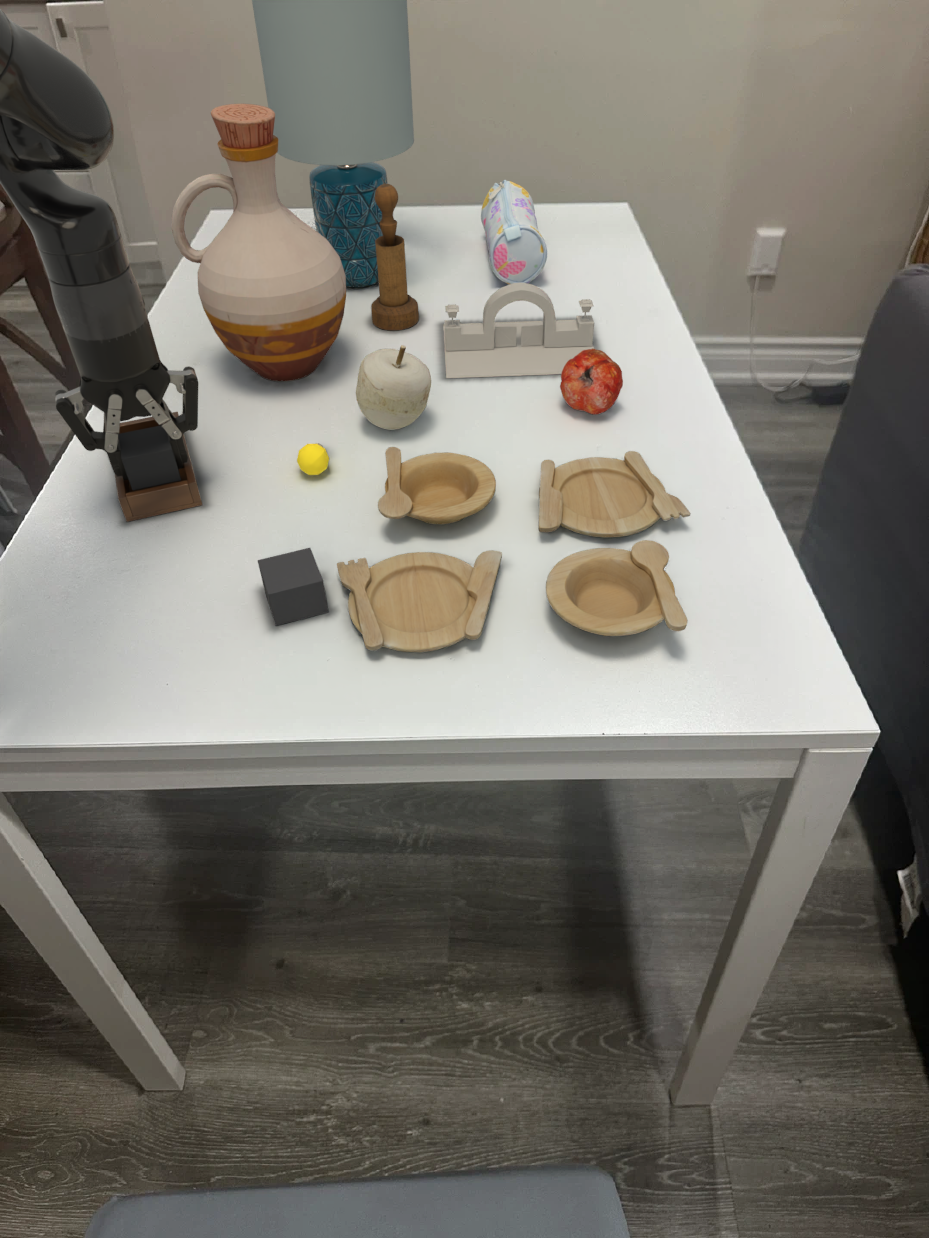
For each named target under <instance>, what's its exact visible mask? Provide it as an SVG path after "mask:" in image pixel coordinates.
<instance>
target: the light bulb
mask: <svg viewBox="0 0 929 1238" xmlns="http://www.w3.org/2000/svg"><path fill="white" fill-rule="evenodd" d="M329 462H330V455H329V454H328V452H327V449H326V448H325V447H324V445H322V444H321V443H317V442H315V443H306V444H305V445H303V447H301V448H300V449H299V450H298V452H297V458H296V463H297V464H298V467H299V470H301V472H303V473H305V474H306V475H308V476H320V475H321V474H322V473H323V472H325V471H326V470H327V469H328V466H329Z"/></svg>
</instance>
